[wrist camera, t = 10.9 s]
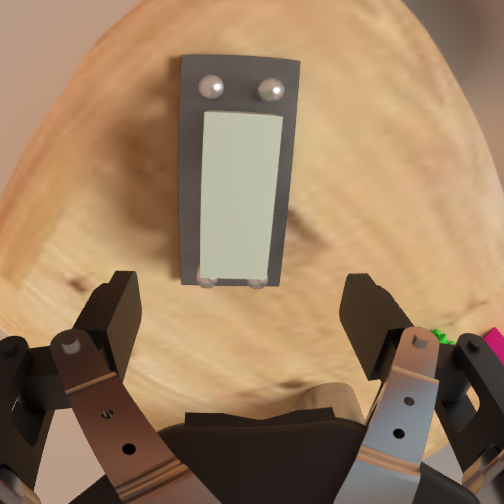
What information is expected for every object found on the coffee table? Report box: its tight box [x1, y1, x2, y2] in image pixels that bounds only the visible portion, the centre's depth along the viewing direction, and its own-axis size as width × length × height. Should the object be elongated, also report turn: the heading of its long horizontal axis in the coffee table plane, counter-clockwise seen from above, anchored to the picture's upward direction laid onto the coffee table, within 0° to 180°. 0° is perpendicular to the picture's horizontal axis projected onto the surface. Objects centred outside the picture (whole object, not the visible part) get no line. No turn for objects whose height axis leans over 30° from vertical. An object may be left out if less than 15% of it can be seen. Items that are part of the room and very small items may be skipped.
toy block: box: [483, 327, 504, 365], centre depth 43 cm, size 15×6×8 cm, turn 44°
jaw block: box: [200, 110, 283, 280], centre depth 25 cm, size 5×12×7 cm, turn 176°
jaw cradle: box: [178, 55, 300, 289], centre depth 27 cm, size 22×10×5 cm, turn 177°
